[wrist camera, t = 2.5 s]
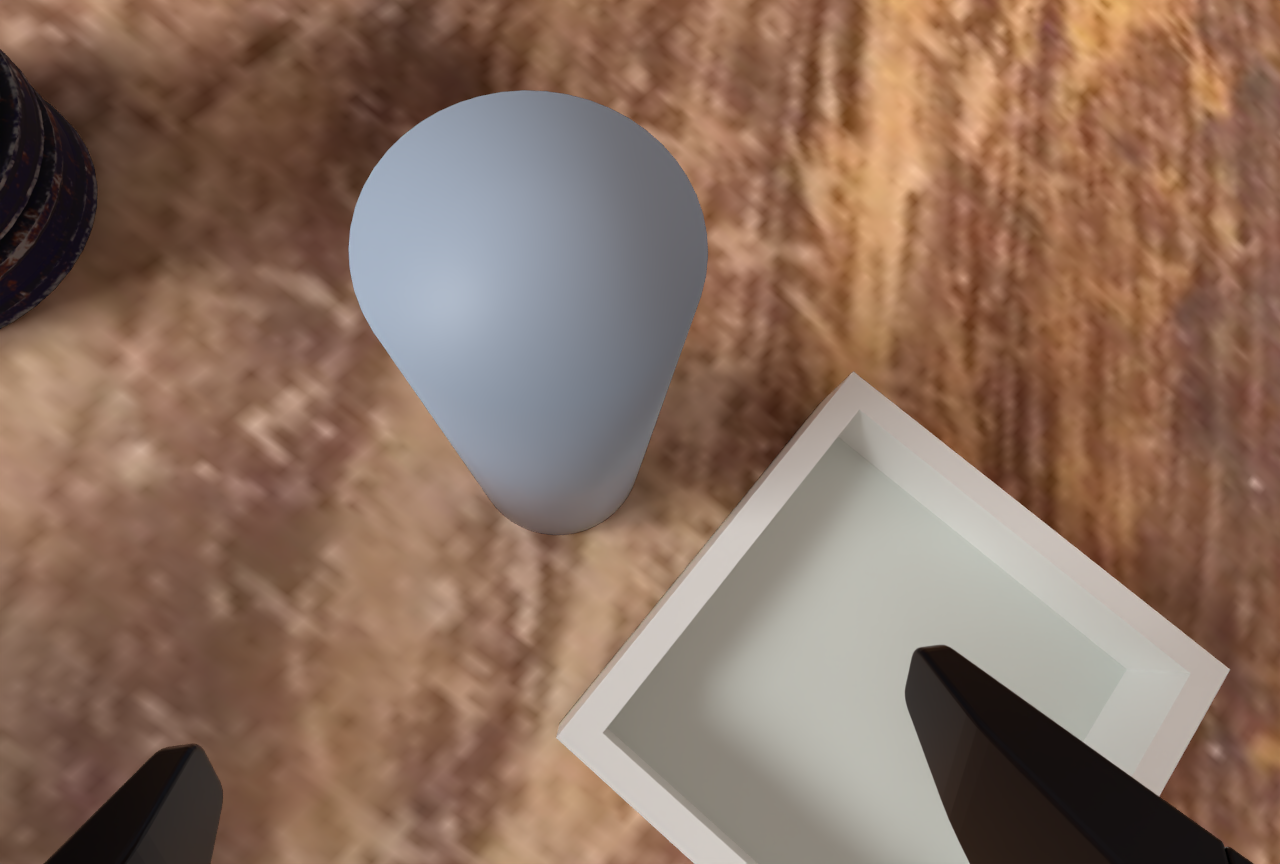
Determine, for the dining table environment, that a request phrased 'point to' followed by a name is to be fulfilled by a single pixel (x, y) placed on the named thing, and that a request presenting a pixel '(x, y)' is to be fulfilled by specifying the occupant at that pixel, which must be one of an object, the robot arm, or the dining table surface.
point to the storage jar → (38, 195)
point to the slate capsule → (534, 292)
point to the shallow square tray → (868, 652)
